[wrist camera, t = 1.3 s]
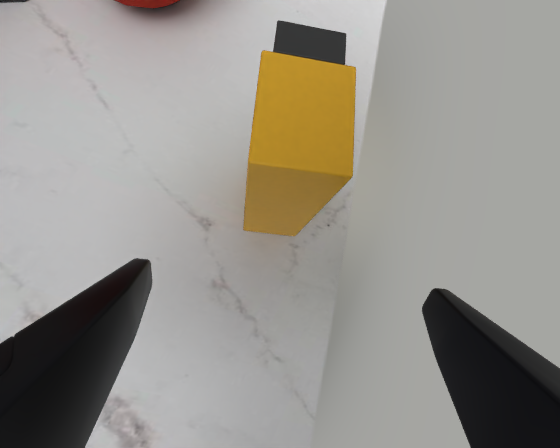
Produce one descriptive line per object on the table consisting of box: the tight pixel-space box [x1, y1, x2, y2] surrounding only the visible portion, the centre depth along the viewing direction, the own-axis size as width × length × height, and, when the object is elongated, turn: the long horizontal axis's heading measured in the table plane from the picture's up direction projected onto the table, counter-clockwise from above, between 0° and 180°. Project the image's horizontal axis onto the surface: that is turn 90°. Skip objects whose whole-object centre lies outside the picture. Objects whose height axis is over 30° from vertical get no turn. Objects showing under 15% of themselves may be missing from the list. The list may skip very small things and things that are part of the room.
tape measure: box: [243, 21, 356, 236], centre depth 18 cm, size 7×4×12 cm, turn 175°
